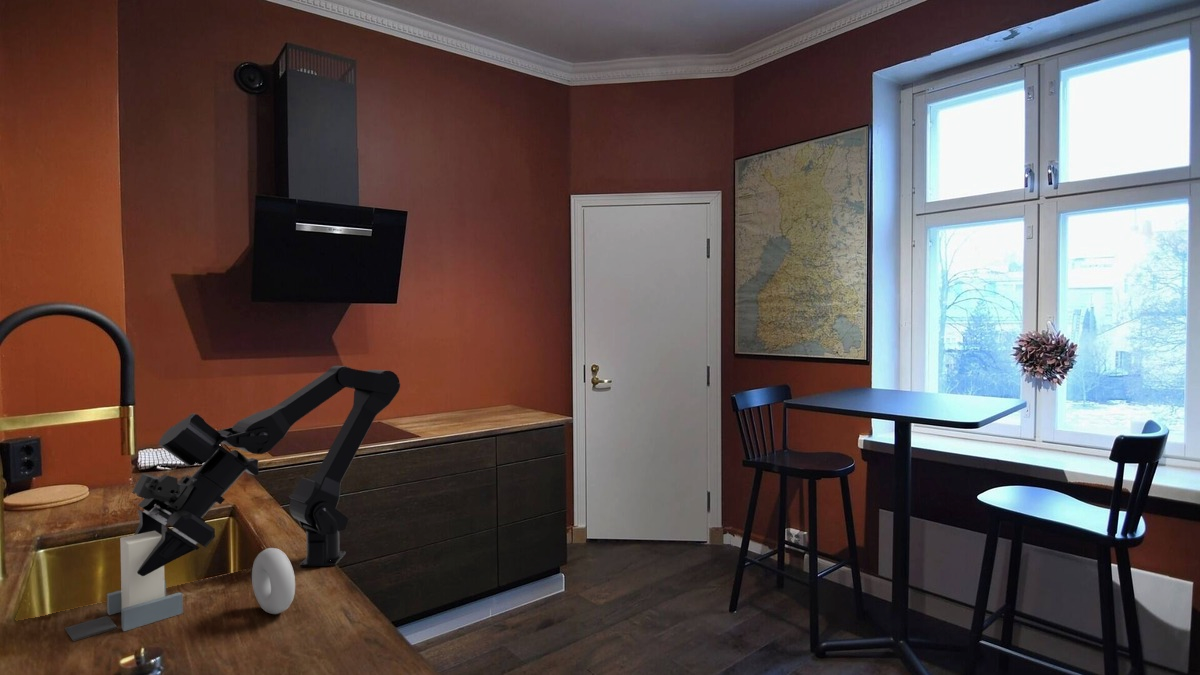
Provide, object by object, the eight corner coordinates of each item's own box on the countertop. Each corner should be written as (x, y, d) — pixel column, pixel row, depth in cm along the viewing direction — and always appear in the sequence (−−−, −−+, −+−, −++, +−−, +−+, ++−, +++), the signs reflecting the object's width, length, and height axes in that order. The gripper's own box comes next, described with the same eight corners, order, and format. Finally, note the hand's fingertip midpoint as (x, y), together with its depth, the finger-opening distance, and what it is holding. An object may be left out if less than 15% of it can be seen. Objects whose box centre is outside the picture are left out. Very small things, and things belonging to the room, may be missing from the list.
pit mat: (107, 617, 96) (107, 615, 96) (116, 628, 92) (116, 626, 92) (65, 629, 92) (65, 627, 92) (73, 641, 89) (73, 639, 89)
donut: (248, 607, 99) (247, 544, 99) (270, 600, 102) (269, 539, 102) (277, 625, 93) (276, 559, 93) (300, 617, 96) (299, 552, 95)
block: (156, 604, 100) (154, 530, 100) (165, 612, 97) (163, 536, 97) (121, 614, 97) (120, 537, 97) (129, 623, 94) (128, 544, 94)
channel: (163, 596, 103) (163, 578, 103) (182, 613, 97) (182, 594, 97) (107, 612, 98) (107, 593, 97) (123, 631, 91) (123, 611, 91)
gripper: (152, 446, 106) (69, 527, 98) (190, 461, 94) (99, 554, 86) (205, 483, 112) (131, 563, 104) (247, 502, 100) (167, 593, 92)
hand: (131, 567), depth 96 cm, fingers open, 9 cm apart
